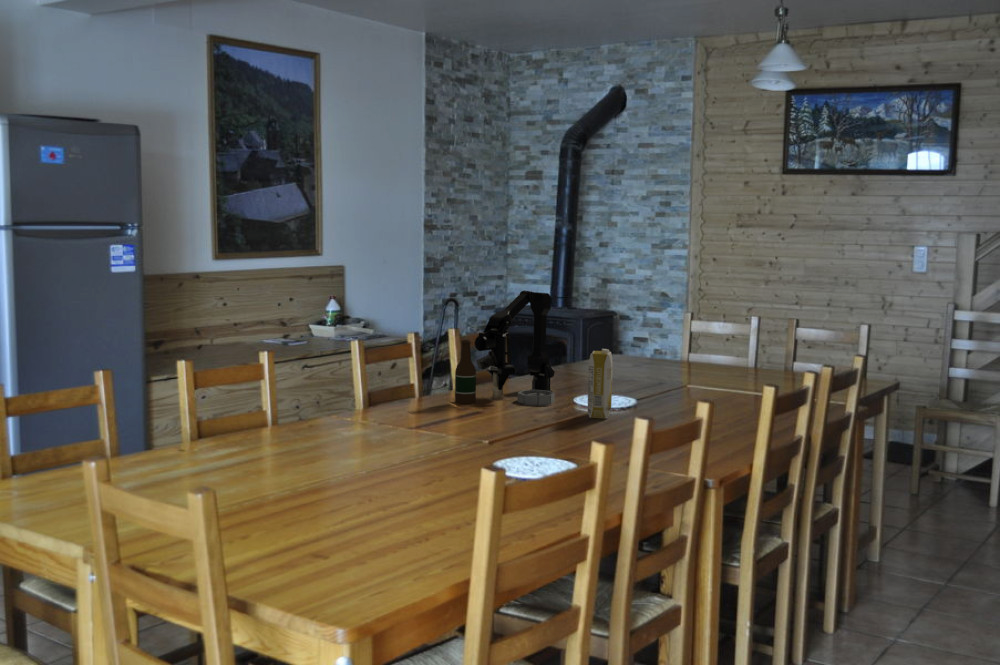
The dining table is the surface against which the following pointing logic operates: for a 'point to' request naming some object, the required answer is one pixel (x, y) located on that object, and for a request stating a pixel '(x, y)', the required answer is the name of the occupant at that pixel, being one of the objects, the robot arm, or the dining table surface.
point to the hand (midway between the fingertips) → (498, 389)
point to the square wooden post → (496, 388)
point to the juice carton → (600, 384)
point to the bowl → (536, 397)
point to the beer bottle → (465, 377)
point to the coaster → (498, 399)
